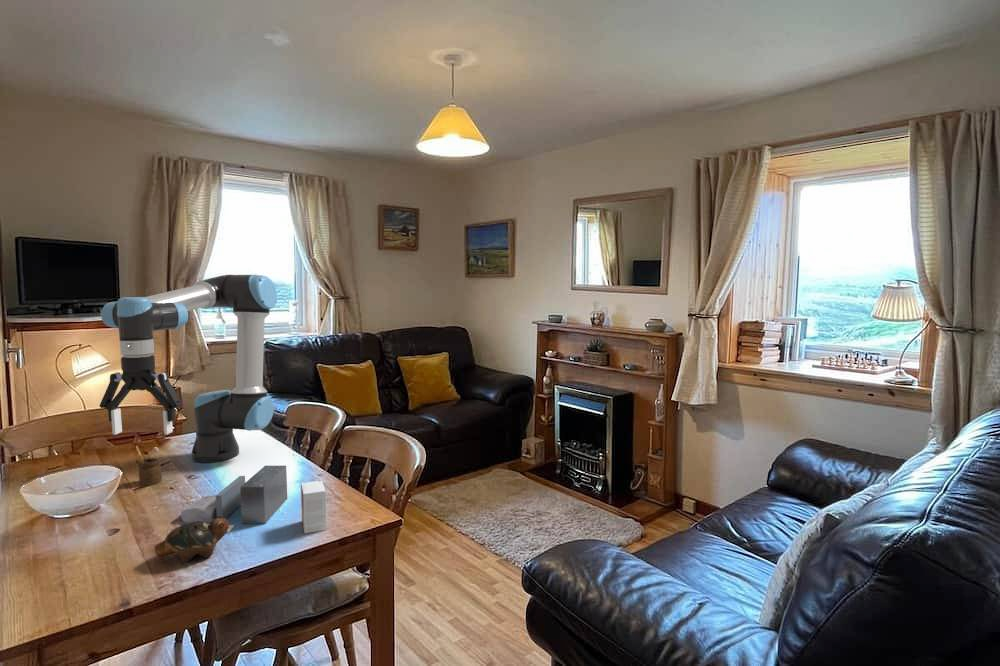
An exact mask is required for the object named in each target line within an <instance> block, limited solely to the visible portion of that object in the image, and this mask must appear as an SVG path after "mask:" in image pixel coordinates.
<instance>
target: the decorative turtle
mask: <svg viewBox="0 0 1000 666" xmlns="http://www.w3.org/2000/svg"><path fill="white" fill-rule="evenodd" d="M229 523H230V522H229V521H228V520H227V518H226V519H224V518H217V519H214V520H213V521H212V522H211V523H206V522H203V521H196V522H190V523H188V522H185V523H184V524H182V525H180V526H177V527H175V528H174V529H172V530H171V531H170V532H169V533H168V534H167V535H166V537H165V539H164V540H163V541H161V542H159V543H157V544H156V545H155V546H154V551H155V554H156V555H155V556H157V557H158V558H161V557H166V556H169V555H174V554H176V555H177V556H178V557H180V560H181V561H182V562H183V563H188V562H190V561H191V560H192V559H193V558H194V557H196V556H197V555H200V556H202V558H204V559H210V558H211V557H212V556H213V553H214V550H215V548H216V546H217V543H218V542H219V541H221V540H222V538H223V537H224V536H225V535H226V533H228V532H227V530H228V528H229V525H230V524H229Z"/></svg>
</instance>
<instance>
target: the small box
mask: <svg viewBox="0 0 1000 666" xmlns="http://www.w3.org/2000/svg"><path fill="white" fill-rule="evenodd" d="M300 494H301V496H300V497H301V499H300V501H301V504H300V505H301V523H302V527H303V533H304V534H305V535H306V534H309V533H315V532H316V533H317V532H321V531H326V530H327V529H328V528H327V527H328V526H327V523H328V522H327V491H326V488H325V485H324V481H323V480H317V481H309V482H301V483H300Z"/></svg>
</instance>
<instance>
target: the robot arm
mask: <svg viewBox="0 0 1000 666" xmlns="http://www.w3.org/2000/svg"><path fill="white" fill-rule="evenodd" d="M277 300H278V292H277V287H276V286H275V283H274V282H273V280H272V279H270V278H269V277H268V276H266V275H261V274H260V275H259V274H224V275H218V276H213V277H211V278H206V279H202V280H200V281H196V282H194V283H193V285H190V286H186V287H182V288H178V289H174V290H170V291H166V292H161V293H157V294H153V295H149V296H133V297H132V296H130V297H128V296H127V297H120V298H119V299H118V300H117V301H111V302H108V303H106V304H104V306H103V307H102V308H101V312H100V316H101V320H102V323H103V324H105V325H106V326H107V327H110V328H114V329H118V335H119V337H118V338H119V348H120V349H119V350H120V355H121V358H120V365H121V371H122V373H121V372H118V371H117V372H114V373H111V374H110V375H109V383H108V385H107V387H106V390H105V393H104V395H103V397H102V399H101V401H100V404H99V408H101V409H106V410H107V411H108V412H107V414H108V421H109V422H110V423H111V430H112V435H114V436H115V435H118V434H121V433H122V432H123V427H122V411H121V410H122V409H121V407H119V406H120V404H121V403H122V402H123V400H124V399H125V398H126V397H127V396H128V394H129V393H130V392H131V391H147V392H148V393H150V394H151V395H152V396H153V397H154V398H155V400H156V401H158V402H159V403H160V404H161V406H163V408H164V410H162V419H163V420H162V421H163V435H169V434H171V433H173V432H174V428H173V422H174V421H175V419H176V416H175V415H176V414H175V413H176V412H175V409H176V408H179V407H180V406H182V405H183V403H182V401H181V399H180V397H179V395H178V394H177V392H176V390H175V389H174V387H173V385H172V384H171V382H170V380H169V375H168V373H167V372H166V371H165V372H162V373H157V374H156V372H155V368H156V362H155V361H156V359H155V357H156V356H154V353H155V346H154V345H155V344H154V343H155V342H154V332H155V331H163V330H174V329H177V328H178V329H179V328H182V327H184V326H185V325H186V324H187V322H188V321H189V312H190V311H194V310H197V309H203V310H207V309H211V308H232V313H233V315H234V316H236V317H237V325H236V327H237V328H236V329H237V331H236V332H237V333H236V360H235V361H236V364H235V366H236V368H235V387H234V388H233V389H232V390H229V389H222V390H221V389H219V390H214V391H209V392H205V393H201V394H199V395H196V397H194V407H193V409H194V420H195V421H194V422H195V440H194V443H193V447H192V450H191V460H192V461H193V462H197V463H216V462H217V463H218V462H222V461H228V460H230V459H234V458H235V457H237V456H239V454H240V446H239V444H238V442H237V439H236V437H235V434H234V430H241V431H242V430H246V431H261V430H263V429H265V428H266V427H267V426H269V424H270V422H271V420H272V418H273V415H274V411H275V404H274V402H273V399H272V398H270V397H269V396H268V390H267V389H266V388H265V387H264V380H263V379H264V350H265V349H264V347H265V343H264V341H265V319H266V318H267V317H268V316H269V315H270V310H271V309H273V308H274V307H275V306H276V303H277V302H278V301H277ZM122 381H123V382H124V384H123V385H122V387H121V388H120V390H119V391H118V392H117V390H118V388H119V385H120V382H122ZM156 381H157V382H158V383H159V384H157V382H156ZM159 385H160V386H159ZM160 387H161V388H160ZM161 389H162V390H163V391H162V390H161ZM116 393H117V394H116Z"/></svg>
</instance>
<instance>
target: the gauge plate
mask: <svg viewBox="0 0 1000 666" xmlns="http://www.w3.org/2000/svg"><path fill="white" fill-rule="evenodd" d="M244 483H246V475H239V476H238V477H237V478H235V479H234V480H233V481H231V482H230V483H229V484H228V485H227V486H226V487H224V488H223V489H222V490H221V491H220V492H218V493H217V495H216V513H217V518H224V519H226V520H227V518H228V517H229V516H230V515H231V514H232V513H233V512H234V511H235V510H236V509H238V507H241V491H240V487H241V486H242V485H243V484H244Z"/></svg>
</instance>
